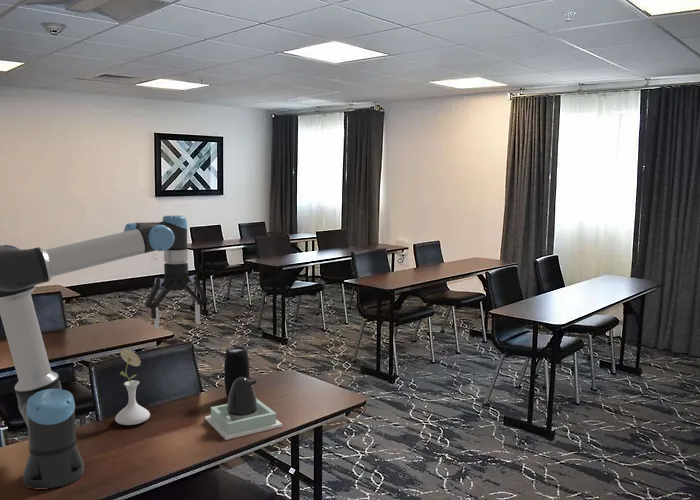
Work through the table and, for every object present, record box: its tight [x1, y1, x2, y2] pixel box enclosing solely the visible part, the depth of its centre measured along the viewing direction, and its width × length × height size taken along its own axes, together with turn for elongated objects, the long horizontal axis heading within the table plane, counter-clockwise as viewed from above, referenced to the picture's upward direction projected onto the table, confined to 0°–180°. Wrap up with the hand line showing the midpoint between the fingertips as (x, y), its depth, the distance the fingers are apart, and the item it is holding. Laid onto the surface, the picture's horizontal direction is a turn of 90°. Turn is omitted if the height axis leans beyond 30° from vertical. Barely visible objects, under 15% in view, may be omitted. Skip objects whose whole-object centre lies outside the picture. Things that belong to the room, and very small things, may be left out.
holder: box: [204, 397, 283, 441], centre depth 200 cm, size 20×20×4 cm
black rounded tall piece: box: [226, 377, 258, 421], centre depth 199 cm, size 10×10×15 cm
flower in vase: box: [114, 348, 151, 426], centre depth 200 cm, size 13×11×25 cm
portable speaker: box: [223, 345, 250, 399], centre depth 222 cm, size 9×9×20 cm
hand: (177, 325), depth 193 cm, fingers open, 13 cm apart
